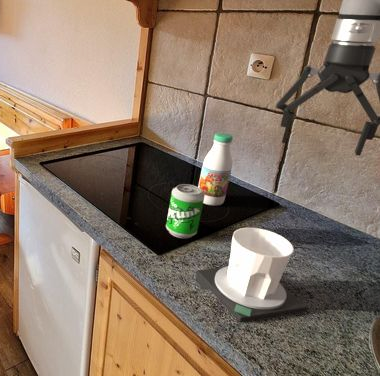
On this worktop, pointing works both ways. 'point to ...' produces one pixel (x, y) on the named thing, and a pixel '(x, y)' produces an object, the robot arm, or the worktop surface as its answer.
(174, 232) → the soda can
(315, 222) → the worktop surface
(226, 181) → the milk bottle
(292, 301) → the scale
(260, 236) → the cup
